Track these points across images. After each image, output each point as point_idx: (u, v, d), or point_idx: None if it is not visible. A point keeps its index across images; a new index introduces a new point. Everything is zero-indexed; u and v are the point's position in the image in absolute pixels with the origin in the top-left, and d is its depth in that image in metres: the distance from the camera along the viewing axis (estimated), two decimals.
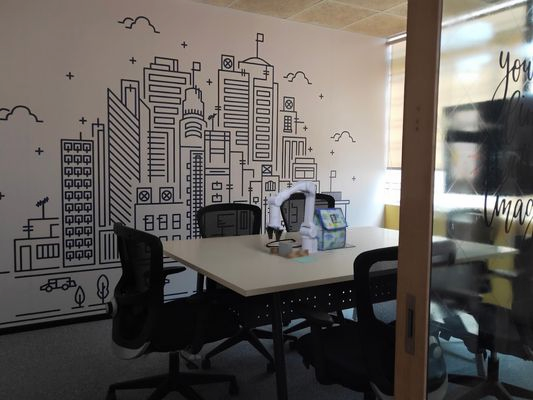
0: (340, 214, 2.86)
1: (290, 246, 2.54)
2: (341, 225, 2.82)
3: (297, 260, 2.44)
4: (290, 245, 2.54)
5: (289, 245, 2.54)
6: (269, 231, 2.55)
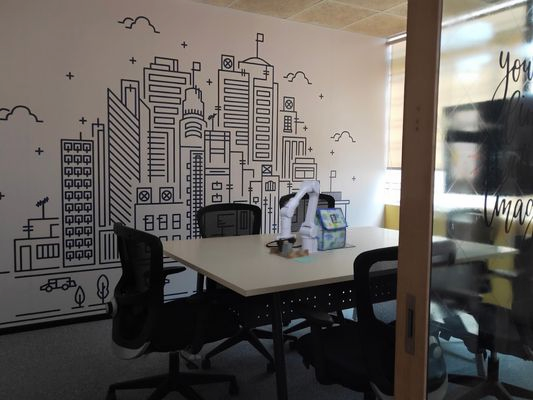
0: (340, 214, 2.86)
1: (290, 246, 2.54)
2: (341, 225, 2.82)
3: (297, 260, 2.44)
4: (290, 245, 2.54)
5: (289, 245, 2.54)
6: (289, 242, 2.60)
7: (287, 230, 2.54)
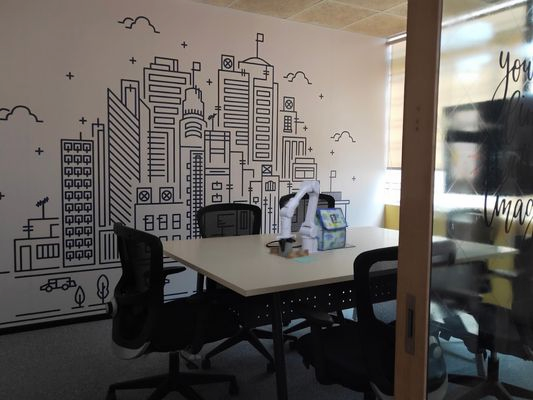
0: (340, 214, 2.86)
1: (290, 246, 2.54)
2: (341, 225, 2.82)
3: (297, 260, 2.44)
4: (290, 245, 2.54)
5: (289, 245, 2.54)
6: None
7: (287, 230, 2.54)
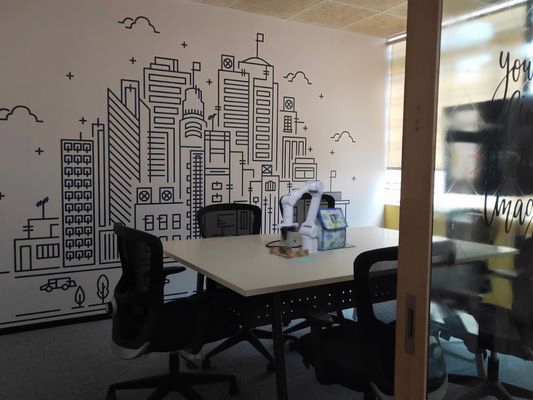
0: (340, 214, 2.86)
1: (292, 235, 2.53)
2: (341, 225, 2.82)
3: (297, 260, 2.44)
4: (292, 234, 2.53)
5: (291, 234, 2.52)
6: None
7: (289, 218, 2.52)
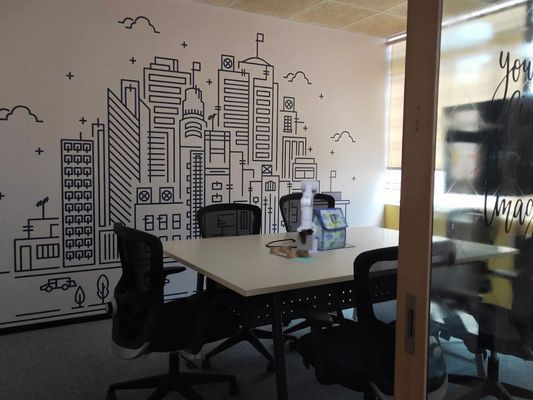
0: (340, 214, 2.86)
1: (311, 238, 2.44)
2: (341, 225, 2.82)
3: (297, 260, 2.44)
4: (311, 237, 2.45)
5: (310, 237, 2.44)
6: None
7: (309, 221, 2.43)
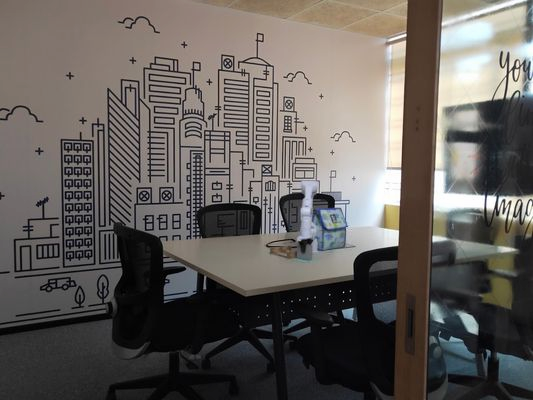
0: (340, 214, 2.86)
1: (310, 247, 2.45)
2: (341, 225, 2.82)
3: (297, 260, 2.44)
4: (310, 247, 2.45)
5: (310, 247, 2.44)
6: None
7: (308, 230, 2.44)
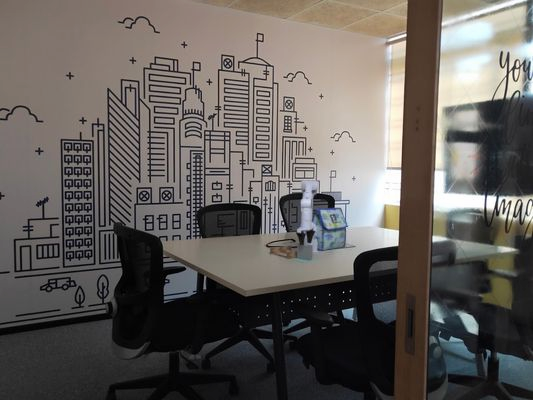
0: (340, 214, 2.86)
1: (310, 248, 2.45)
2: (341, 225, 2.82)
3: (297, 260, 2.44)
4: (311, 247, 2.45)
5: (310, 247, 2.44)
6: (308, 234, 2.50)
7: (308, 222, 2.43)
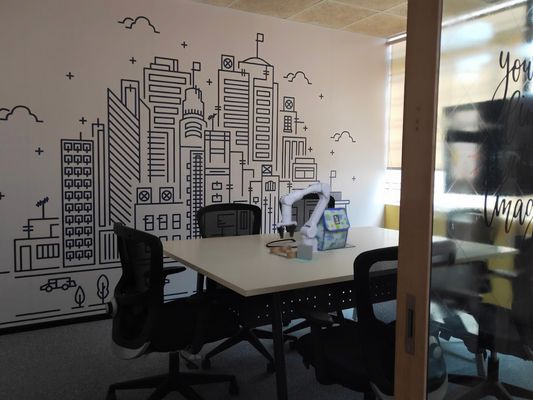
0: (344, 215, 2.83)
1: (310, 248, 2.45)
2: (343, 226, 2.80)
3: (297, 260, 2.44)
4: (311, 247, 2.45)
5: (310, 247, 2.44)
6: (290, 229, 2.66)
7: (288, 217, 2.60)
